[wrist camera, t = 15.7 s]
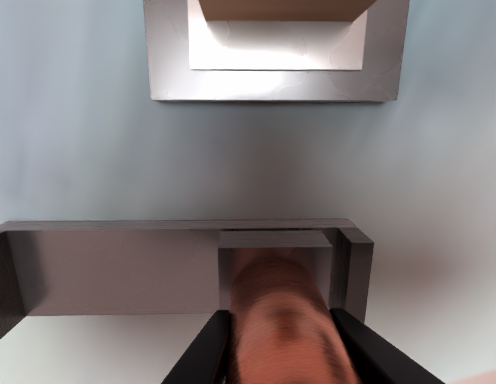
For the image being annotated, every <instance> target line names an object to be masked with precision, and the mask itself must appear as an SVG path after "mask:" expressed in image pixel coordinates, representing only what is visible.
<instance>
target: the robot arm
mask: <svg viewBox="0 0 496 384" xmlns="http://www.w3.org/2000/svg"><path fill="white" fill-rule="evenodd" d="M329 312H330V314H331V316H332V319H333V321H334V323H335V325H336V327H337V329H338V331H339V333H340V336H341V338H342V340H343V342H344V344H345V346H346V348H347V350H348V353H349V355H350V357H351V359H352V361H353V363H354V365H355V367H356V370H357V372H358V374H359V376H360V378H361V380H362V382H363V384H445V383H444V382H442V381H441V380H440V379H438V378H437V377H436V376H434V375H433V374H431V373H430V372H429V371H427V370H426V369H425V368H423V367H422V366H421V365H419V364H418V363H417V362H415V361H414V360H412V359H411V358H410V357H408V356H407V355H406V354H404V353H403V352H402V351H400V350H399V349H397V348H396V347H395V346H393V345H392V344H391V343H389V342H388V341H387V340H385V339H384V338H382V337H381V336H380V335H378V334H377V333H376V332H374V331H373V330H372V329H370V328H369V327H367V326H366V325H365V324H363V323H362V322H361V321H359V320H358V319H357V318H355V317H354V316H353V315H351V314H350V313H348V312H347V311H346V310H344V309H343V308H330V309H329ZM229 319H230V311H229V310H217V311H216V312H215V313H214V314H213V316H212V317H211V318H210V319H209V321H208V322H207V323H206V325H205V326H204V327H203V329H202V330H201V331H200V333H199V334H198V335H197V337H196V338H195V339H194V341H193V342H192V343H191V345H190V346H189V347H188V349H187V350H186V351H185V353H184V354H183V355H182V357H181V358H180V359H179V360H178V362H177V363H176V364H175V366H174V367H173V368H172V370H171V371H170V372H169V374H168V375H167V376H166V378H165V379H164V380H163V382H162V383H161V384H225V376H226V360H227V351H228V337H229Z"/></svg>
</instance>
